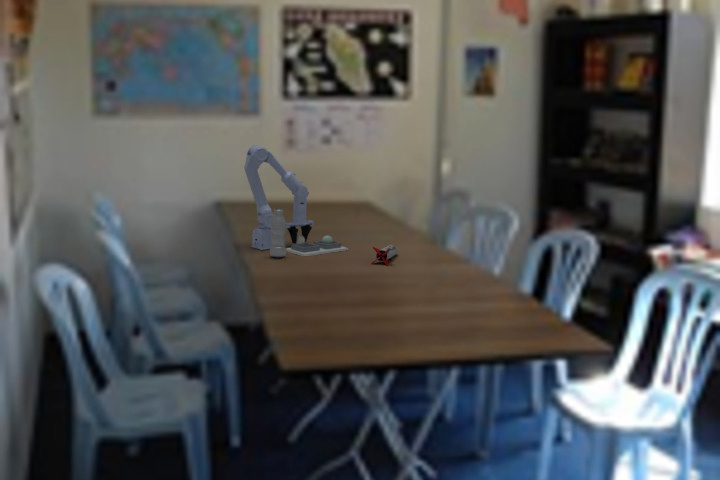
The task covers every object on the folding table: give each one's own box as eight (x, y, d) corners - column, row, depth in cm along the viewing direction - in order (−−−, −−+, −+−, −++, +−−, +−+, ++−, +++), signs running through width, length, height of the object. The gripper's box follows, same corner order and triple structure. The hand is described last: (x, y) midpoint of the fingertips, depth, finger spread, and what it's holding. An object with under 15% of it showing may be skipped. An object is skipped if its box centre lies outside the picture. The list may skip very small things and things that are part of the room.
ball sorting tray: (304, 256, 356) (304, 249, 356) (284, 250, 367) (284, 243, 366) (348, 250, 372) (348, 243, 372) (327, 244, 382) (327, 238, 382)
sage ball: (326, 248, 370) (326, 236, 369) (319, 246, 373) (319, 235, 372) (335, 247, 373) (335, 235, 372) (327, 245, 377) (328, 234, 376)
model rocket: (409, 251, 365) (395, 232, 366) (398, 258, 343) (382, 238, 343) (390, 266, 368) (376, 248, 369) (377, 274, 346) (362, 255, 346)
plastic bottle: (283, 259, 350) (284, 210, 346) (267, 258, 351) (268, 209, 347) (287, 256, 356) (288, 208, 352) (272, 255, 357) (272, 207, 353)
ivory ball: (298, 247, 375) (298, 236, 374) (291, 245, 378) (291, 234, 377) (307, 246, 378) (307, 235, 377) (300, 244, 382) (300, 233, 381)
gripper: (292, 214, 368) (291, 245, 370) (318, 212, 377) (317, 242, 380) (282, 212, 373) (281, 243, 375) (308, 209, 382) (307, 239, 385)
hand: (299, 242), depth 378 cm, fingers closed on ivory ball, 5 cm apart
